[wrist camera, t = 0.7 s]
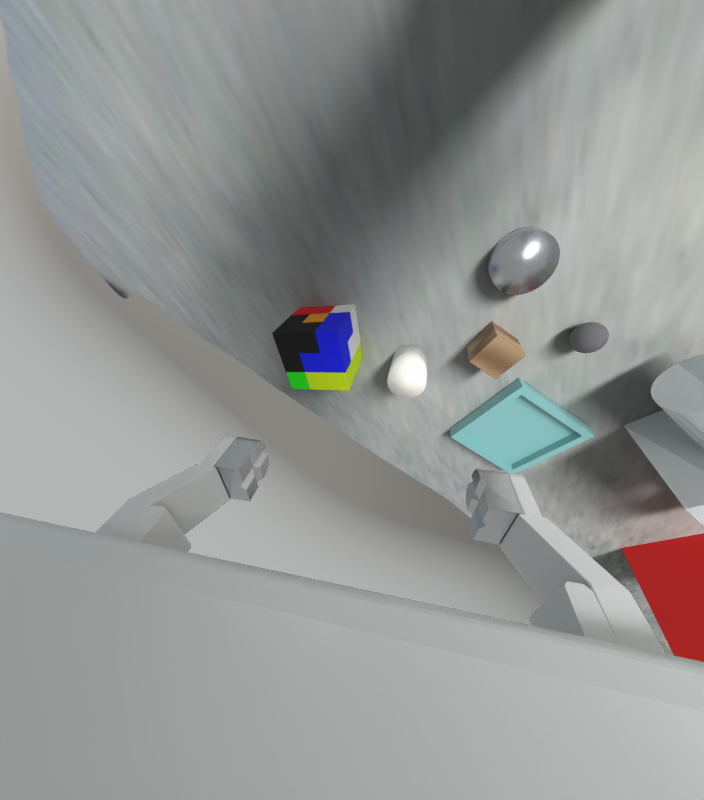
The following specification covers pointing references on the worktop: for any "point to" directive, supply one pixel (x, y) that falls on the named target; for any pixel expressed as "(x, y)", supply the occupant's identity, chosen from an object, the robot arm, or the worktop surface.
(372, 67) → the worktop surface
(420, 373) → the ceramic jar
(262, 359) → the worktop surface
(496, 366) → the walnut block
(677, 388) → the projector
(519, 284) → the grey metal dome
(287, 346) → the puzzle toy
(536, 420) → the tray
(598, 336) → the rubber ball
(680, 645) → the book
